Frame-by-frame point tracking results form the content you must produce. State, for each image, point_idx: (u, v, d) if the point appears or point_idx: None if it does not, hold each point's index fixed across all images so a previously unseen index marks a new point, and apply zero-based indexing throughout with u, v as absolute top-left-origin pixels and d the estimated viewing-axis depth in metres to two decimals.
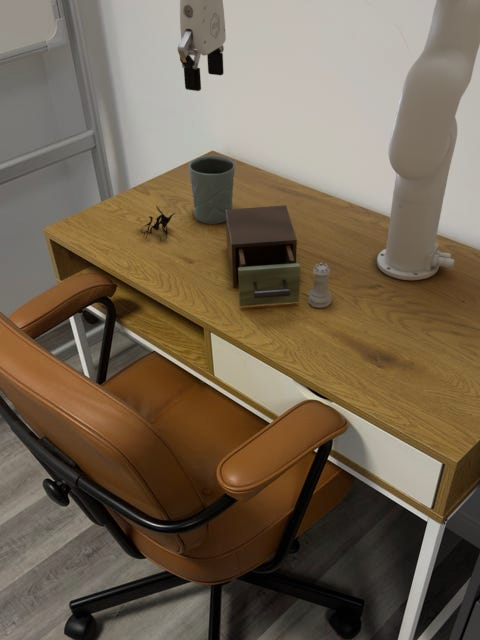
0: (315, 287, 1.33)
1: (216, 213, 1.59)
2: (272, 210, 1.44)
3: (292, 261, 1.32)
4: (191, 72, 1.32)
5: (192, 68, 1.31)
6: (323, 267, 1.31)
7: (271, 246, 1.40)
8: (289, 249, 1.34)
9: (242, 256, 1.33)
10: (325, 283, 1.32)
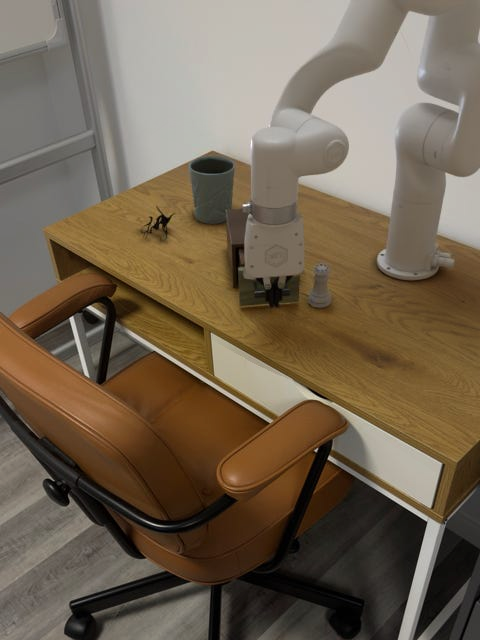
0: (315, 287, 1.33)
1: (216, 213, 1.59)
2: None
3: None
4: (265, 289, 1.25)
5: None
6: (323, 267, 1.31)
7: None
8: None
9: (242, 256, 1.33)
10: (325, 283, 1.32)
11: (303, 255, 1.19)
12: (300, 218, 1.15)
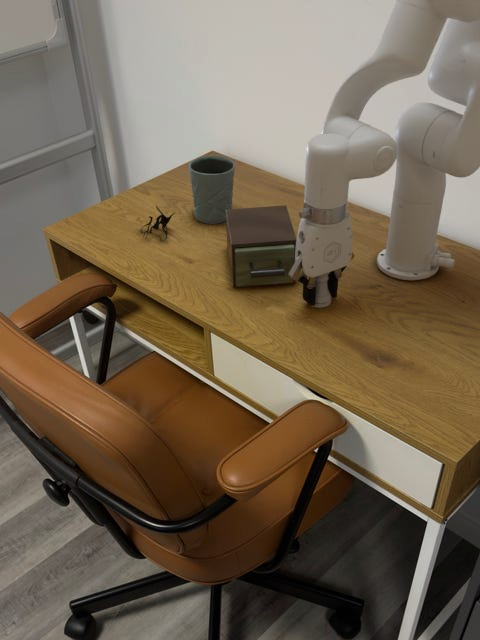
0: (315, 287, 1.33)
1: (216, 213, 1.59)
2: (272, 210, 1.44)
3: None
4: (306, 289, 1.32)
5: None
6: None
7: None
8: None
9: None
10: (325, 283, 1.32)
11: (351, 246, 1.28)
12: (347, 213, 1.25)
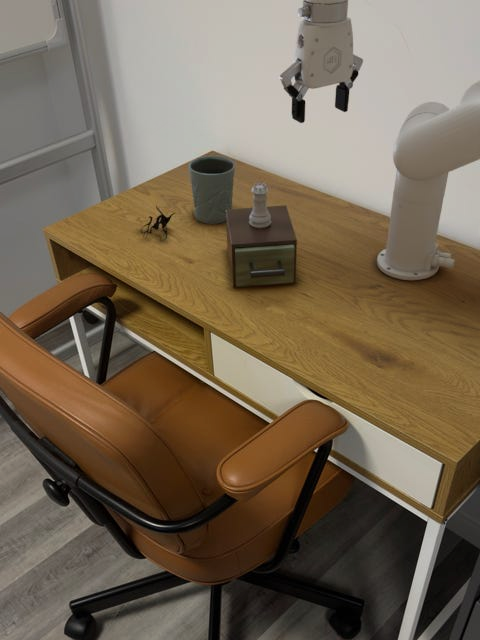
0: (254, 207, 1.37)
1: (216, 213, 1.59)
2: (272, 210, 1.44)
3: None
4: (295, 102, 1.26)
5: (296, 99, 1.26)
6: (261, 186, 1.35)
7: None
8: None
9: None
10: (264, 203, 1.36)
11: (352, 57, 1.25)
12: (348, 18, 1.21)
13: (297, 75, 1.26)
